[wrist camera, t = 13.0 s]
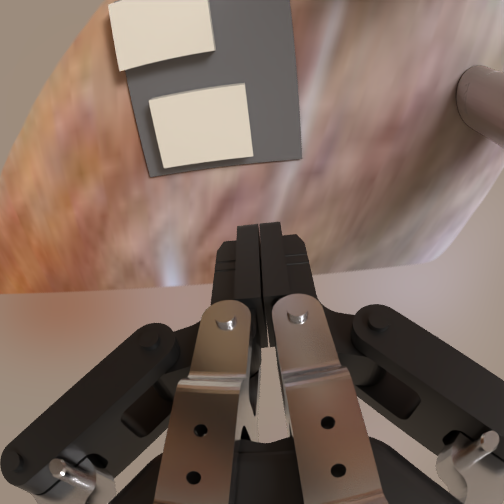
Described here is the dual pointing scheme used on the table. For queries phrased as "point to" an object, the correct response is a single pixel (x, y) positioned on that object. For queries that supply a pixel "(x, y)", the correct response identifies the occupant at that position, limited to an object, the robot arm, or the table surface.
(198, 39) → the tile
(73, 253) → the table surface
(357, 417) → the robot arm
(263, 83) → the mat
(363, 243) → the table surface
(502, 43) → the table surface
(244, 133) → the tile
